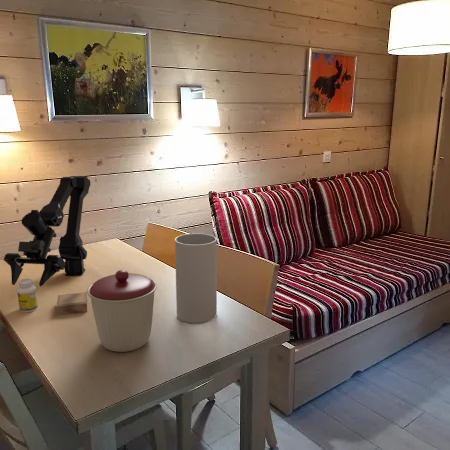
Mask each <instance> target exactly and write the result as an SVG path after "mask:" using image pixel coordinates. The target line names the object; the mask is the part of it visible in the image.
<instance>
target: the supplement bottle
mask: <svg viewBox="0 0 450 450" xmlns="http://www.w3.org/2000/svg"><path fill="white" fill-rule="evenodd" d="M33 283H34V282H33V279H32V278H22V279H21V280H18V287H17V289H16V291H17V299H18V308H19V311H20V312H22V313H31V312H34V311H37V309H38V308H39V307H38V297H37V290H36V289H37V287H36V286H35V285H34V284H33Z"/></svg>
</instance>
